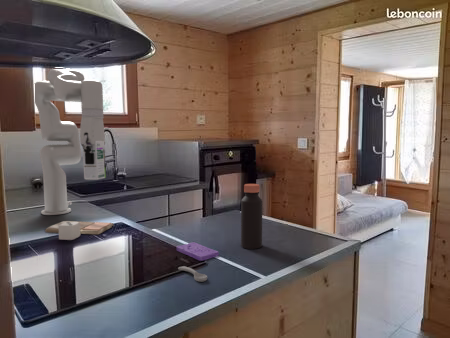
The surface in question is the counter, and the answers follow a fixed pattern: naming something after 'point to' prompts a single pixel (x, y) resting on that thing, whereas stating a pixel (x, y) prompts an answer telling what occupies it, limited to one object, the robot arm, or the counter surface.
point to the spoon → (195, 274)
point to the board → (84, 227)
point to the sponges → (197, 251)
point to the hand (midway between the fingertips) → (94, 162)
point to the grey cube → (69, 230)
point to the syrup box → (95, 163)
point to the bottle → (251, 217)
